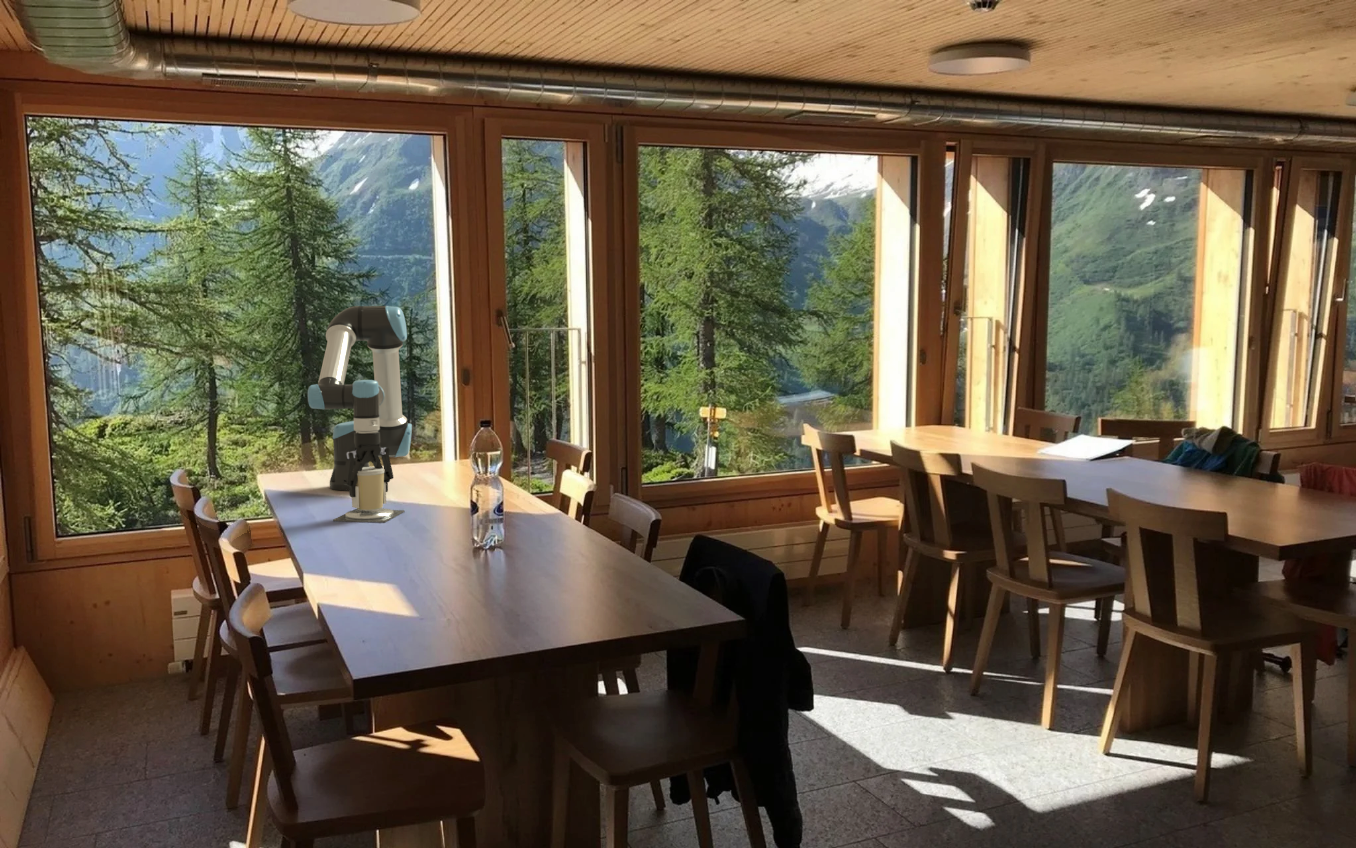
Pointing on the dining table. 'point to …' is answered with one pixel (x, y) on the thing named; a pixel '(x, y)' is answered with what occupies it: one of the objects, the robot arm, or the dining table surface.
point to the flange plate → (369, 515)
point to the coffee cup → (370, 488)
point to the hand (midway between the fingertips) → (369, 505)
